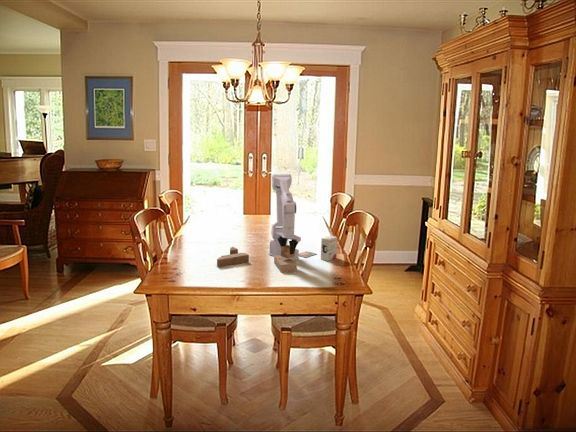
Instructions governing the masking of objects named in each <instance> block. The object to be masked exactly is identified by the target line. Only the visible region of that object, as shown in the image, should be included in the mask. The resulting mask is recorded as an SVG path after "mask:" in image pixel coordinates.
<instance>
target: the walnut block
mask: <svg viewBox="0 0 576 432" xmlns="http://www.w3.org/2000/svg"><path fill="white" fill-rule="evenodd" d="M281 256H282V257H286V258H291V257H294V256H295V252H294V254H292V255H291V254H290V244H287V245H285V246H281Z"/></svg>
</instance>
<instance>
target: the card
mask: <svg viewBox="0 0 576 432" xmlns="http://www.w3.org/2000/svg"><path fill="white" fill-rule="evenodd" d="M315 255H317V253H315V252H312V251H303V252H299V258H300V257H301V258H304V259H306V258H309V257H312V256H315Z"/></svg>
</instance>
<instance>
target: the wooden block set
mask: <svg viewBox="0 0 576 432" xmlns="http://www.w3.org/2000/svg"><path fill="white" fill-rule="evenodd" d="M229 248H230V249H229V254H226V255H221V256H220V257H218V258H217V259H216V267H218V268H224V267H228V266H237V265H244V264H248V263H250V261H249V260H250V259H249V258H250V255H249V254H248V253H245V252H239V249H238V248H236V247H234V246H232V247H229Z"/></svg>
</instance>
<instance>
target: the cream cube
mask: <svg viewBox="0 0 576 432" xmlns="http://www.w3.org/2000/svg"><path fill="white" fill-rule="evenodd" d="M299 251H300V250H299V249H297V248H295V256H294V257H291V258H292V260H293V261H296V260H298V259H299V258H300V256H299V253H300V252H299Z"/></svg>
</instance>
